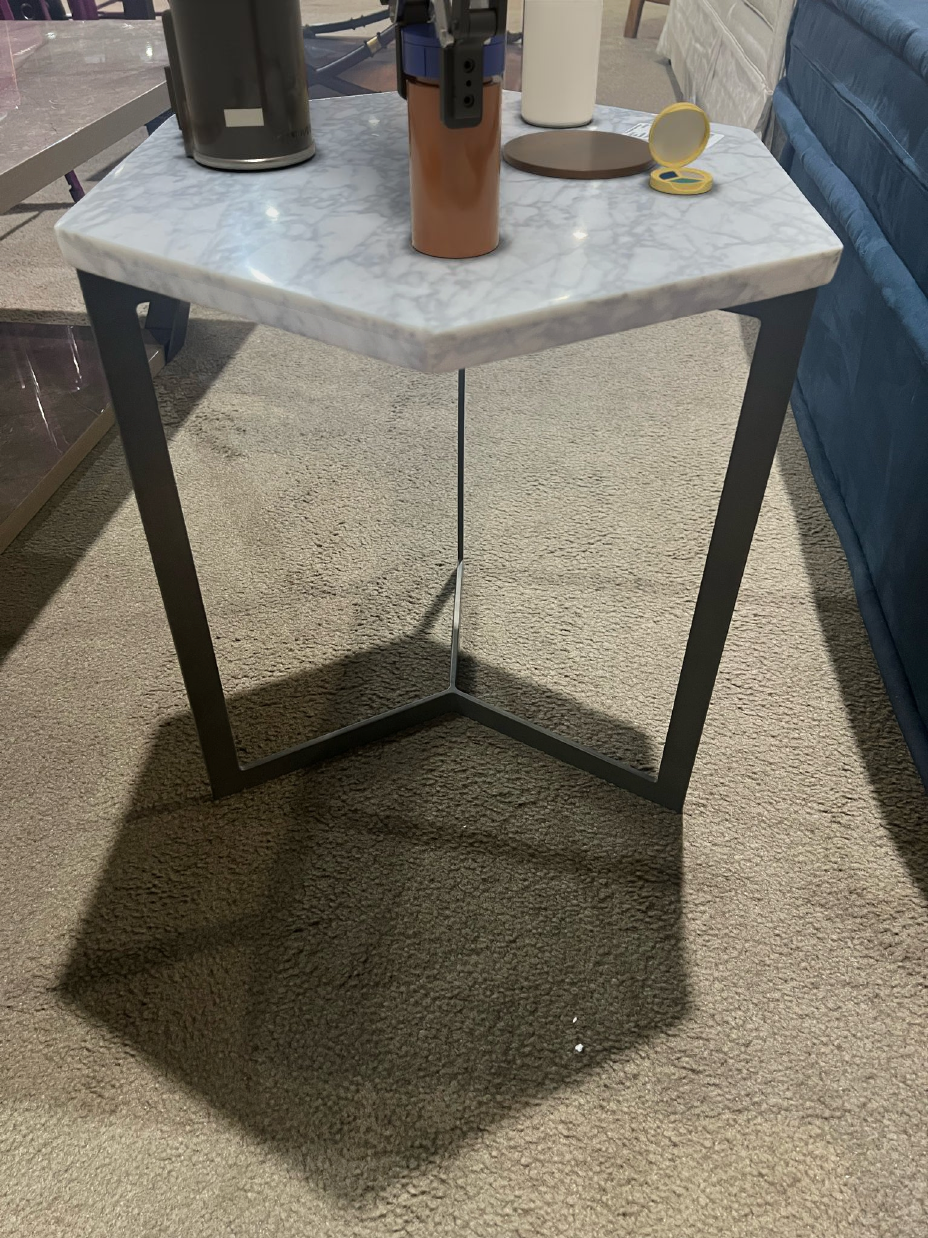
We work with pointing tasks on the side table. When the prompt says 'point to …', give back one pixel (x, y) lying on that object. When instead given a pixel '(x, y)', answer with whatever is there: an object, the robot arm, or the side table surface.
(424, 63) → the jar lid
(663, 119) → the eyeshadow
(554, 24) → the can
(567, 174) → the coaster
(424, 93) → the jar
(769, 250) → the side table surface
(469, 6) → the robot arm
